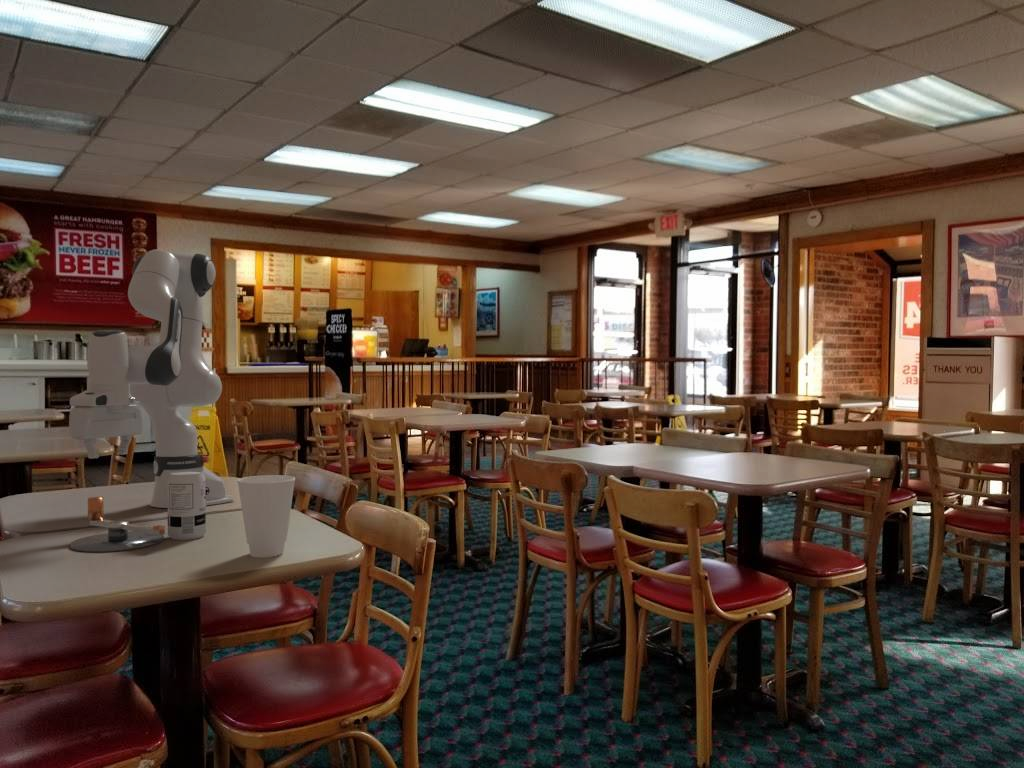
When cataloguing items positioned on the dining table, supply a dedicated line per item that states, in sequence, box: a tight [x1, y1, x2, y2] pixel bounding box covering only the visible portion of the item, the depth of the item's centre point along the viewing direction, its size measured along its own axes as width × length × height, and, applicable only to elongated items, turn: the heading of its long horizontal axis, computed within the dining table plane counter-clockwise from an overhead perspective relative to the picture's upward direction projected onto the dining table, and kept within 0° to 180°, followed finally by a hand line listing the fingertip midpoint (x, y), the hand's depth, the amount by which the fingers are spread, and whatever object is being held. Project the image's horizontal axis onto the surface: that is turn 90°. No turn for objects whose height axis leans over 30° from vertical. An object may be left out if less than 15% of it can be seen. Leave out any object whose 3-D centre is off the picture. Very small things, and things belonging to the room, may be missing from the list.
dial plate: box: [69, 529, 165, 553], centre depth 183 cm, size 19×19×3 cm
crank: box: [87, 496, 166, 535], centre depth 181 cm, size 25×4×6 cm, turn 61°
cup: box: [236, 474, 296, 558], centre depth 172 cm, size 12×12×16 cm
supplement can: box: [167, 471, 207, 541], centre depth 189 cm, size 8×8×15 cm
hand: (108, 456), depth 191 cm, fingers open, 8 cm apart
